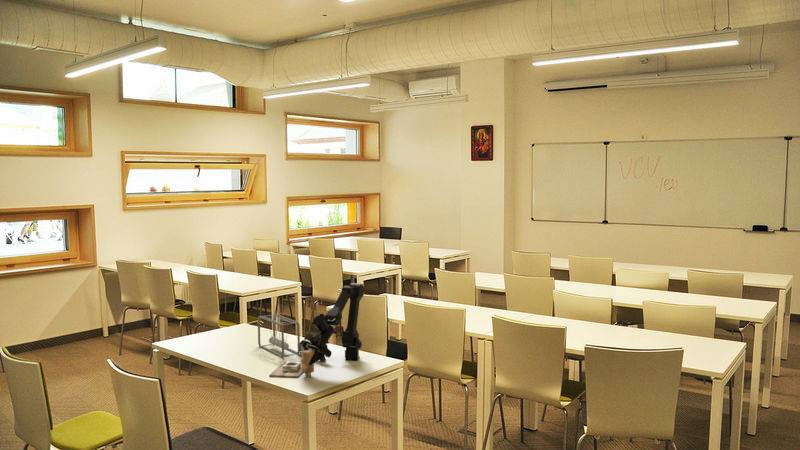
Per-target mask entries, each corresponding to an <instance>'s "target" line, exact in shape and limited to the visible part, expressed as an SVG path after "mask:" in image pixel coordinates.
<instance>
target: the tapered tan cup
mask: <svg viewBox="0 0 800 450" xmlns="http://www.w3.org/2000/svg"><path fill="white" fill-rule="evenodd" d="M313 355H314V351H313V350H304V351H302V354H301V360H302V372H303V373H302V374H304V378H311V377H312V373H314V372H315V363H313V364H312V365H309V362H310V360H311V358H312V357H313Z"/></svg>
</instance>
